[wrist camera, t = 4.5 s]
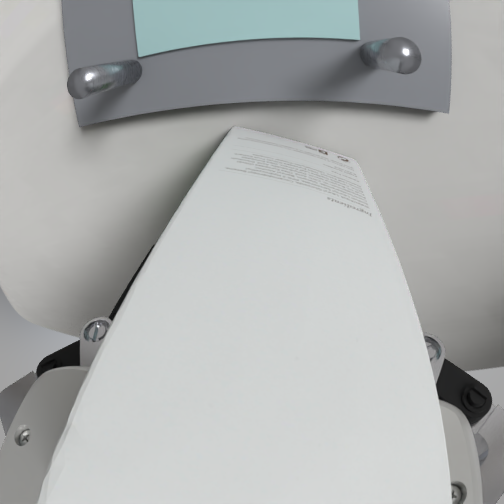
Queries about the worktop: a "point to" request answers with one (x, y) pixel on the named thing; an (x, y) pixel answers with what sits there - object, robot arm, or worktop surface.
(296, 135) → the worktop surface
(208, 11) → the grey base plate
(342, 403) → the skincare box
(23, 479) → the robot arm
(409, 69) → the guide pins
